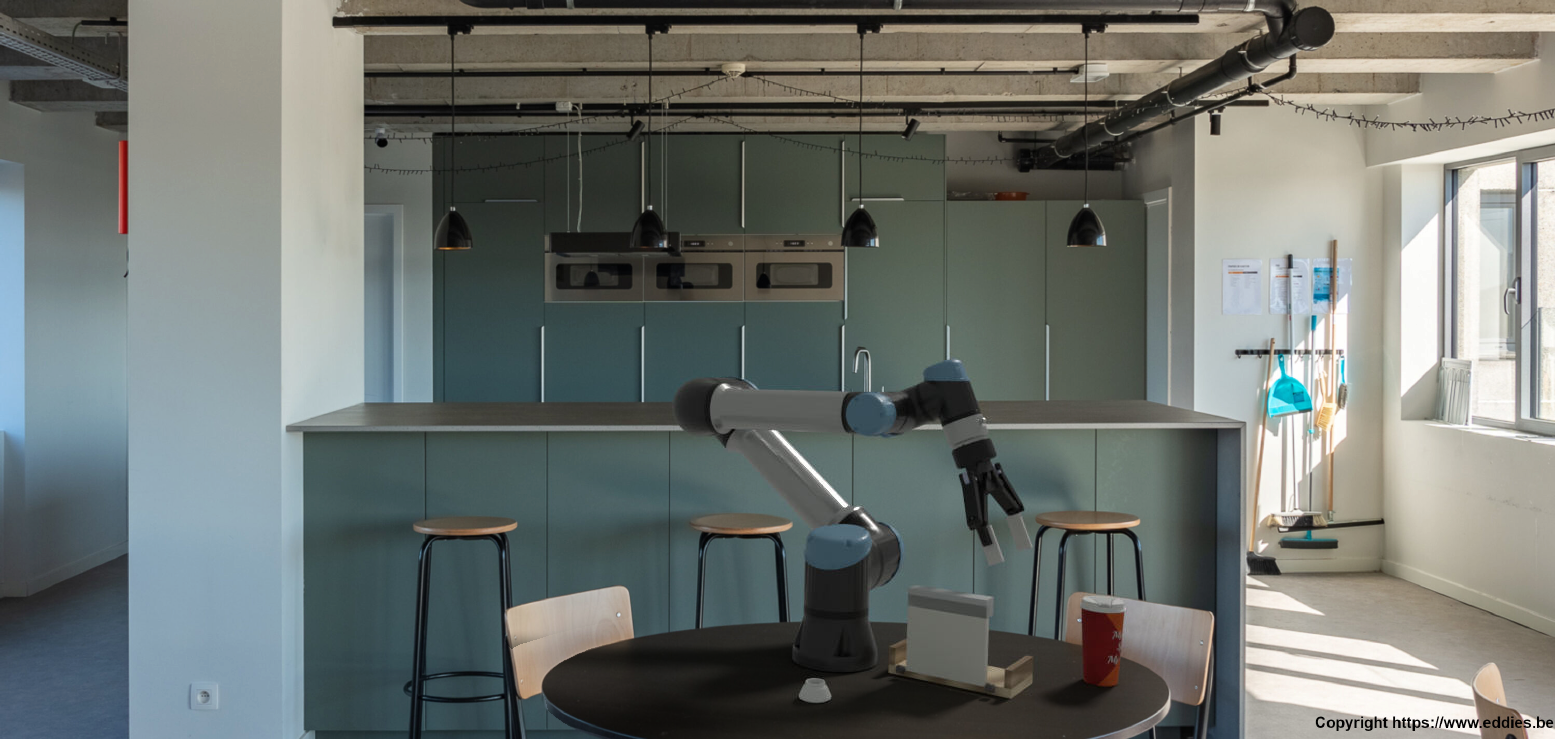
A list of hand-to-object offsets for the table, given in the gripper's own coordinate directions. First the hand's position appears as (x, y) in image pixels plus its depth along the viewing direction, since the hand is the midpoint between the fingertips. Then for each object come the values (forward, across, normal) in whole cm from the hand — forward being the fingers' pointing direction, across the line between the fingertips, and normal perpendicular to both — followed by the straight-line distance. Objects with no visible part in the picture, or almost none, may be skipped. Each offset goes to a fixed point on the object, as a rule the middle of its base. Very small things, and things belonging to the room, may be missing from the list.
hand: (1011, 556), depth 183 cm
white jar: (+10, -37, +24) cm, 45 cm away
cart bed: (+16, -13, +11) cm, 24 cm away
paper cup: (+24, +2, -7) cm, 25 cm away
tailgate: (+15, -17, +11) cm, 25 cm away
